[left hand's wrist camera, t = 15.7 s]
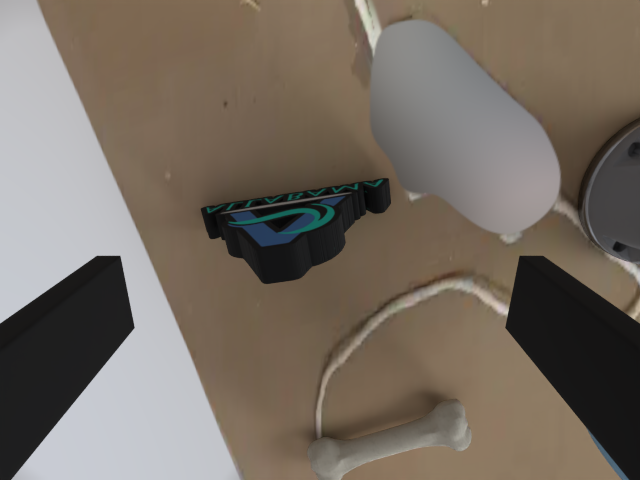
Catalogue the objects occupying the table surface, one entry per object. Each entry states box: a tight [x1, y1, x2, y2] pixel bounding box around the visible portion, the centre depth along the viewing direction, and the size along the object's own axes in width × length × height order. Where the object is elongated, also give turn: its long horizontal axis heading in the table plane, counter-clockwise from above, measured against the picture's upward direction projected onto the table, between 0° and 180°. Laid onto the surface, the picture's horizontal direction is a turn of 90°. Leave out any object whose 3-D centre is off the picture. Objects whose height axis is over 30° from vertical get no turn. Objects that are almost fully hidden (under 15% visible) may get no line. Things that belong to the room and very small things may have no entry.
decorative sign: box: [201, 178, 391, 284], centre depth 31 cm, size 19×2×15 cm, turn 99°
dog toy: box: [307, 399, 471, 480], centre depth 47 cm, size 20×6×5 cm, turn 112°
